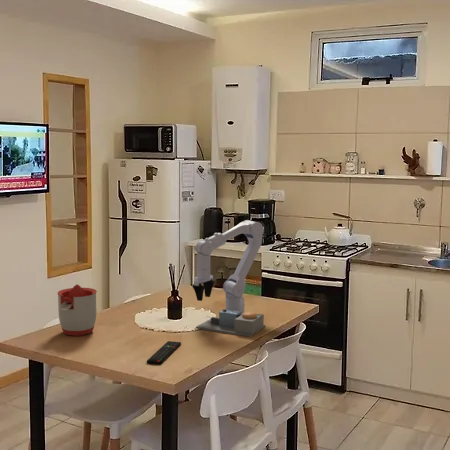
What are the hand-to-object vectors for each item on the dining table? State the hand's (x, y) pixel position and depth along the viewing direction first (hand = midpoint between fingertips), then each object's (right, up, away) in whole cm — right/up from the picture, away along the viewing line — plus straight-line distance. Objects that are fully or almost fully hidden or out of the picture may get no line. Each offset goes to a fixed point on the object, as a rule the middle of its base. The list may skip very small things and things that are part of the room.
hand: (203, 298), depth 274 cm
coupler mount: (+12, -11, -11) cm, 20 cm away
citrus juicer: (-51, -12, -20) cm, 56 cm away
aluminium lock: (+11, -10, -11) cm, 19 cm away
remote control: (-13, -16, -44) cm, 49 cm away
